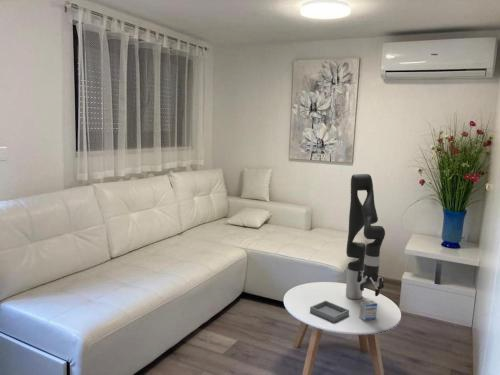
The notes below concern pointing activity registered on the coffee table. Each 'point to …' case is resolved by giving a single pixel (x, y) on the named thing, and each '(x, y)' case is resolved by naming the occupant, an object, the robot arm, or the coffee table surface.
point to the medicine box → (368, 310)
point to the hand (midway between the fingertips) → (369, 293)
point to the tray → (329, 311)
